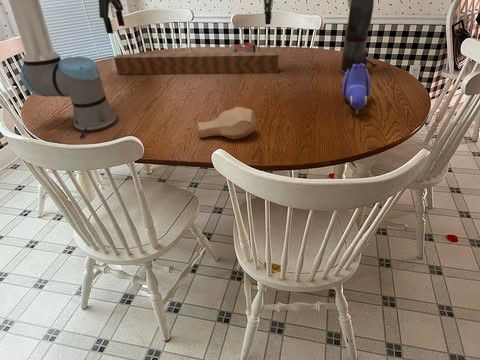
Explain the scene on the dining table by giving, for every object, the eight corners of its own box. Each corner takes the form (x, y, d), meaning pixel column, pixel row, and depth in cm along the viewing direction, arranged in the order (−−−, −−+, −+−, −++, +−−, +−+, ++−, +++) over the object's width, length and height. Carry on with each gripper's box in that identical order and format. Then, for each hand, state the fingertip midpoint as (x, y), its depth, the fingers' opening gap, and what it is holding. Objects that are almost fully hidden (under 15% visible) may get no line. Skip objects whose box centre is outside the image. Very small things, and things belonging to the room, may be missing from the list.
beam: (117, 74, 176) (113, 57, 171) (121, 71, 180) (117, 54, 175) (278, 72, 166) (278, 55, 161) (278, 69, 170) (278, 51, 165)
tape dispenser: (247, 68, 177) (266, 54, 190) (247, 57, 174) (266, 44, 186) (218, 62, 185) (238, 48, 197) (217, 52, 181) (238, 39, 194)
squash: (259, 140, 116) (255, 118, 110) (200, 150, 118) (193, 129, 112) (256, 120, 124) (253, 99, 117) (201, 130, 126) (194, 109, 119)
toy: (340, 103, 144) (343, 119, 122) (342, 60, 138) (346, 69, 115) (366, 103, 142) (373, 119, 120) (369, 59, 135) (378, 68, 113)
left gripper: (99, -19, 142) (113, 36, 155) (122, -27, 162) (133, 22, 175) (81, -19, 143) (97, 36, 156) (107, -26, 163) (118, 23, 176)
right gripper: (276, -19, 140) (276, 25, 150) (277, -23, 151) (277, 17, 161) (257, -18, 141) (258, 26, 150) (260, -23, 152) (261, 18, 162)
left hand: (116, 29), depth 165 cm, fingers open, 13 cm apart
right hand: (268, 21), depth 156 cm, fingers open, 8 cm apart
